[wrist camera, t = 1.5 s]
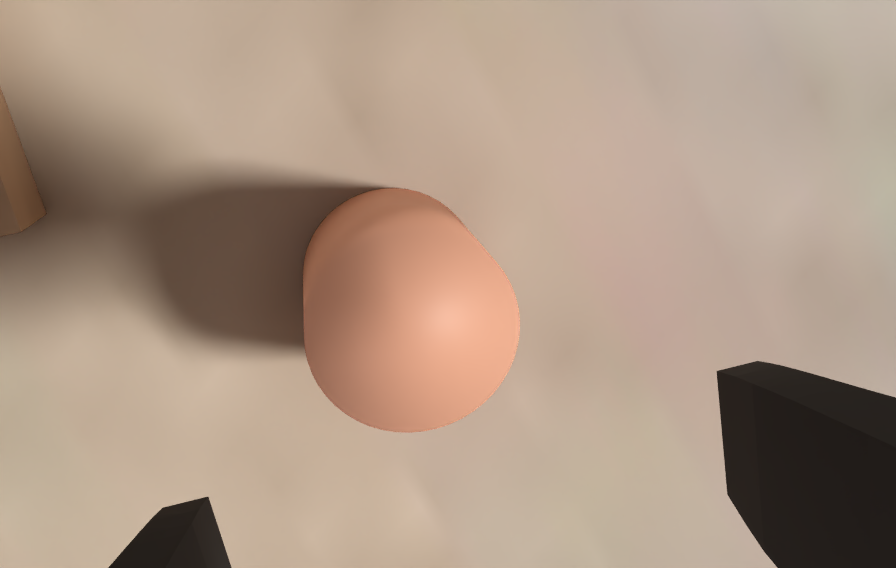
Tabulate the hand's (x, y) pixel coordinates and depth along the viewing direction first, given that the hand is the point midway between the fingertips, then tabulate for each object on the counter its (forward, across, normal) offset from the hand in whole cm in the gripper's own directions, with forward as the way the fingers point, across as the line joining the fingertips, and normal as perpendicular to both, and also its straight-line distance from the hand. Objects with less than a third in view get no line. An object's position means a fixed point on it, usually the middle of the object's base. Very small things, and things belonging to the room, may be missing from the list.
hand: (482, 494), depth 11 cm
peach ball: (+11, 0, 0) cm, 11 cm away
